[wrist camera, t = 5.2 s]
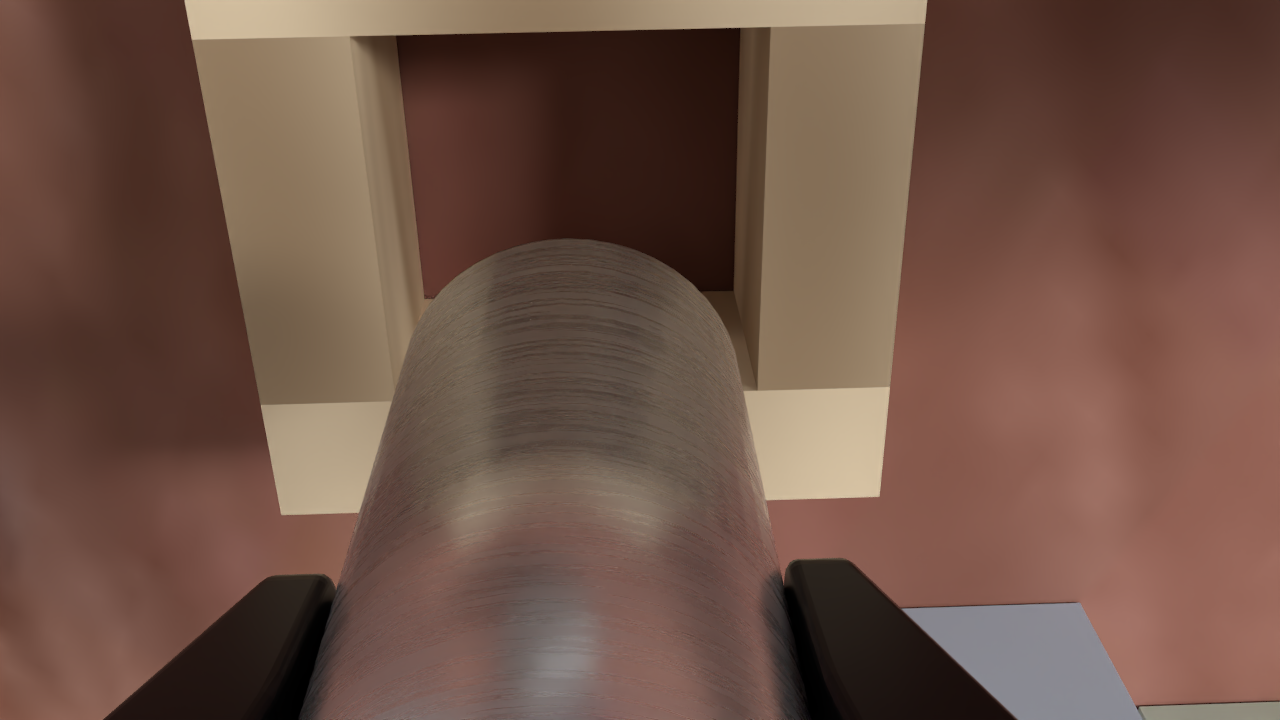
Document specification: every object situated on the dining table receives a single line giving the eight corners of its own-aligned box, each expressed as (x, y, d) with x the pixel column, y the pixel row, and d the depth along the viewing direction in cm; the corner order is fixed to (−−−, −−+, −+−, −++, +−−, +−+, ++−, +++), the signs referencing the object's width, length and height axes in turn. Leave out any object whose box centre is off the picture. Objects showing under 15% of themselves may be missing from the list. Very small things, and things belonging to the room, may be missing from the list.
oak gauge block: (880, -170, 15) (941, -143, 13) (840, 386, 19) (879, 497, 16) (235, -159, 15) (159, -129, 12) (324, 401, 19) (281, 514, 16)
